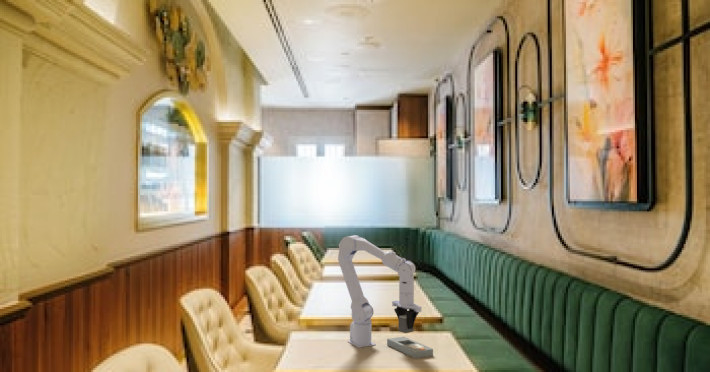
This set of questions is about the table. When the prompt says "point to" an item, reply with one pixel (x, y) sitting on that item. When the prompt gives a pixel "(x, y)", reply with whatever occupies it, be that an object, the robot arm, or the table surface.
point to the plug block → (404, 324)
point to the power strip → (410, 347)
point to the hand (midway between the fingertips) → (406, 327)
